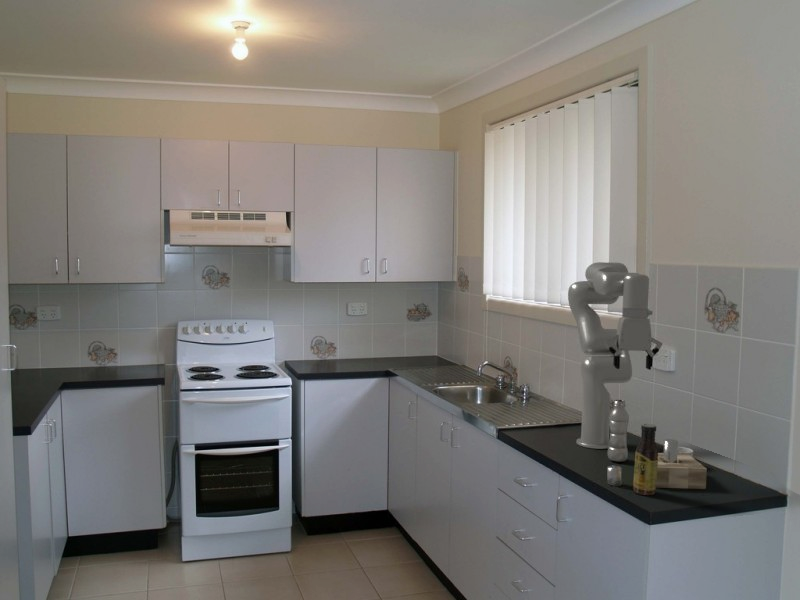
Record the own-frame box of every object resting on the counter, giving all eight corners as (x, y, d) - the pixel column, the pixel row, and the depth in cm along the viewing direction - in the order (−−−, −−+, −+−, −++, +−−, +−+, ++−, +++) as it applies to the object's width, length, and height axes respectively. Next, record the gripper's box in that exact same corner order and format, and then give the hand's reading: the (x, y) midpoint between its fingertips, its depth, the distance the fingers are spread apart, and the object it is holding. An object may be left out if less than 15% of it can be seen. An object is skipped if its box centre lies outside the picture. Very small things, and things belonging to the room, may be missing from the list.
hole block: (635, 471, 241) (636, 452, 240) (687, 472, 240) (688, 453, 240) (650, 487, 225) (651, 467, 224) (705, 488, 224) (706, 468, 224)
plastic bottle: (605, 462, 250) (608, 401, 248) (608, 457, 256) (610, 398, 255) (626, 464, 247) (629, 403, 246) (628, 459, 254) (630, 399, 252)
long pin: (660, 477, 235) (662, 439, 234) (673, 477, 234) (675, 439, 234) (664, 481, 231) (666, 442, 230) (678, 482, 230) (679, 442, 230)
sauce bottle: (628, 489, 222) (631, 422, 221) (648, 488, 224) (651, 421, 222) (640, 497, 216) (644, 427, 214) (660, 496, 217) (664, 426, 216)
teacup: (683, 462, 252) (684, 446, 252) (697, 469, 245) (698, 452, 244) (656, 463, 250) (656, 447, 249) (669, 470, 242) (670, 453, 242)
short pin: (604, 484, 227) (604, 467, 227) (612, 480, 230) (612, 464, 229) (616, 487, 224) (616, 470, 224) (624, 483, 227) (624, 467, 226)
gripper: (659, 313, 242) (657, 367, 243) (604, 312, 242) (602, 366, 243) (666, 315, 234) (664, 371, 235) (609, 314, 235) (607, 370, 236)
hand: (632, 368), depth 239 cm, fingers open, 9 cm apart
